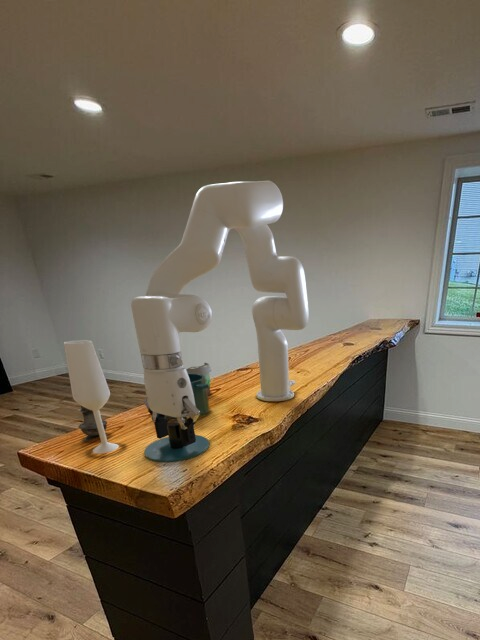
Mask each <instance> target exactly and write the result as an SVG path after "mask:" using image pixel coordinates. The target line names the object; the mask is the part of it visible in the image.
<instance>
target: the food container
mask: <svg viewBox="0 0 480 640" xmlns="http://www.w3.org/2000/svg"><path fill="white" fill-rule="evenodd" d="M186 371H187V373H194V374H201V375H203V376H205V380H206V384H208V388H207V396H208V397H209V396H210V395H211V380H210V373H211V372H212V368H211V366H210V364H209V363H208V362H204V363H203V365H199V366H190V367H188V368H186Z"/></svg>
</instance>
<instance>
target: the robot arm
mask: <svg viewBox="0 0 480 640" xmlns="http://www.w3.org/2000/svg"><path fill="white" fill-rule="evenodd" d="M283 209H284V199H283V195H282V192H281V190H280V188H279V187H278V186H277V184H276V183H274V182H273V181H271V180H257V181H230V182H222V183H212V184H206V185H203V186H201V188H199V189H198V191H197V192H196V193H195V196H194V198H193V202H192V206H191V209H190V212H189V216H188V219H187V222H186V225H185V228H184V231H183V235H182V238H181V241H180V243H179V244H178V246H176V247H175V248H174V249H173V250H172V251H171V252H170V253H169V254H168V255H167V256H166V257H165V258H164V259H163V261H162V262H161V263H160V264H159V265H158V266H157V268H156V269H155V270H154V272H152V273H153V274H152V275H151V277H150V279H149V283H148V286H147V289H146V292H145V295H144V296H143V295H142V296H135V297H133V298H132V299H131V302H130V307H131V313H132V317H133V318H132V319H133V323H134V329H135V333H136V338H137V343H138V349H139V353H140V359H141V365H142V368H143V381H144V390H145V396H146V398H145V399H144V400H143V403H144V405H145V407H146V408H147V412H148V413H149V414H150V415H151V421H152V422H153V425H154V429H155V433H156V438H157V439H158V440H160V439H163V438H166V437H168V431H167V426H166V424H167V423H169V422H170V421H169V419H168V418H165V417H166V415H167V416H171V417H175V418H177V420H176V421H178V422H179V424H180V425H181V427H182V429H180V433H181V439H182V445H183V446H188V445H190V444H192V443H194V442H196V438H195V435H196V431H195V426H196V425H197V424H196V423H197V422H198V419H199V418H200V417H199V415H200V411H199V410H198V409H197V408H196V406H195V400H194V395H193V390H192V386H191V382H190V379H189V376H188V373H187V371H186V369H187V367H184V362H183V361H184V360H183V354H182V347H181V343H180V335H179V333H199V332H202V331H204V330H206V329H207V328H208V327H209V326H210V325H211V322H212V320H213V311H212V308H211V306H210V304H209V302H208V301H206V299H204V298H203V297H201V296H198V295H195V294H183V293H182V294H181V291H182V290H183V288H185V286H186V285H188V284H189V283H191V282H192V281H193V280H195V279H197V278H198V277H201V276H203V275H205V274H207V273H209V272H210V271H212V270H214V269H215V268H216V267H218V266H219V265H220V263H221V260H222V257H223V253H224V249H225V246H226V242H227V239H228V236H229V232H230V231H231V230H233V229H234V230H235V231H236V232H237V233H238V235H239V237H240V239H241V241H242V244H243V248H244V252H245V257H246V262H247V268H248V273H249V277H250V281H251V285H252V287H253V288H254V290H256V291H257V292H260V293H267V294H268V293H272V294H285V295H286V296H282V295H281V296H280V295H264V296H260V297H258V298H257V299H256V300H254V302H253V304H252V308H251V313H252V314H251V315H252V319H253V324H254V327H255V332H256V341H257V353H258V368H259V370H258V371H259V384H260V390H259V391H257V392H256V394H255V395H256V399H258V400H260V401H264V402H272V403H273V402H282V401H283V402H284V401H289V400H291V399H293V398H294V397H295V392H294V391H293V390H292V389H291V387H295V385H297V382H296V380H295V379H291V380H290V369H289V367H290V365H289V344H288V340H287V338H286V337H287V336H285V334H284V332H283V331H282V330H285V331H286V330H287V331H300V330H303V329H305V328H306V327H307V326H308V323H309V319H310V309H309V299H308V291H307V281H306V273H305V270H304V269H305V268H304V267H303V264H302V262H301V260H299V259H298V258H297V257H295V256H291V255H279V254H277V253H278V252H277V248H276V244H275V238H274V234H273V232H272V230H271V228H270V226H269V225H271V224H274V223H276V222H278V221H279V220H280V218H281V217H282V214H283ZM182 411H184V413H183V414H181V412H182ZM185 416H186V418H187V419H183V417H185Z"/></svg>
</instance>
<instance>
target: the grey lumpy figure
mask: <svg viewBox="0 0 480 640" xmlns="http://www.w3.org/2000/svg"><path fill="white" fill-rule="evenodd" d="M80 408H81V409H80V410H79V412H81V413H82V416H83V423H81V424H79V425H78V429H80V431H81V432H82V433H83V434H84V435H85V437H84V438H83V441H84V442H89V441H91V440H94V439H98V438H100V436H99V432H98V428H97V425H96V421H95V417H94V413H93V411H92V410H89V409H87V408H85V407H83V406H81V405H80ZM102 423H103V426H104V430H105V431H106V430H107V427H108V425H107V424H108V421H107V420H105V419H102ZM105 434H106V435H108V433H107V432H105Z"/></svg>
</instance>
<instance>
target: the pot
mask: <svg viewBox="0 0 480 640" xmlns="http://www.w3.org/2000/svg"><path fill="white" fill-rule="evenodd" d="M188 376H189V379H190V382H191V386H192V390H193V395H194V400H195V406H196V408H197V409H198V410H199V411H200V415H199V417H198V418H200V417H202V416H203V417H204V416H205V415H207V414H209V412H210V405H209V395H208V396H207V388H208V384H206V380H205V376H203V375H201V374H194V373H188ZM183 413H184V411H182V412H181V414H183ZM165 418H168V420H174V421H178V420H177V418H175V417H171V416H167V415H166V417H165ZM183 419H184V420H187V418H186V416H185V417H183Z"/></svg>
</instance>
